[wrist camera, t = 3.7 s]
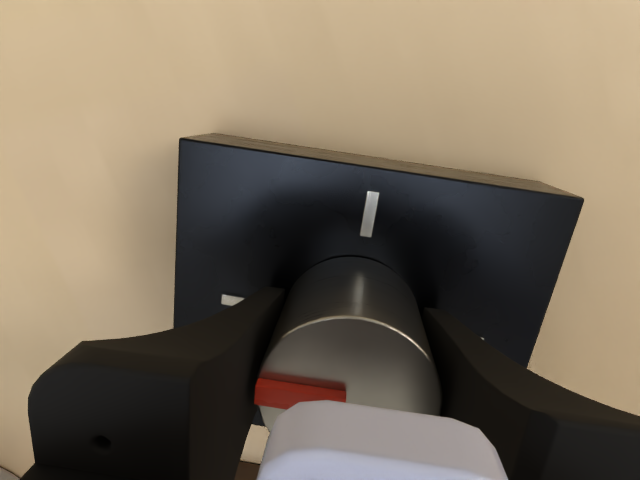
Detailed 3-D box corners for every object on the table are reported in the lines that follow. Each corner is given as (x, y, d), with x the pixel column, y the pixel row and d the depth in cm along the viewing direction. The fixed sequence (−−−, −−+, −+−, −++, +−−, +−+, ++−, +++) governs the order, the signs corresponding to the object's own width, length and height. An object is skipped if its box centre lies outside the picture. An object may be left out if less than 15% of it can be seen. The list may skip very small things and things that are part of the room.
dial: (430, 266, 13) (464, 339, 9) (405, 385, 14) (425, 498, 10) (290, 247, 13) (258, 309, 9) (279, 366, 14) (246, 468, 10)
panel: (541, 181, 15) (589, 199, 12) (471, 411, 18) (494, 472, 15) (212, 132, 15) (175, 137, 12) (199, 363, 18) (168, 413, 15)
